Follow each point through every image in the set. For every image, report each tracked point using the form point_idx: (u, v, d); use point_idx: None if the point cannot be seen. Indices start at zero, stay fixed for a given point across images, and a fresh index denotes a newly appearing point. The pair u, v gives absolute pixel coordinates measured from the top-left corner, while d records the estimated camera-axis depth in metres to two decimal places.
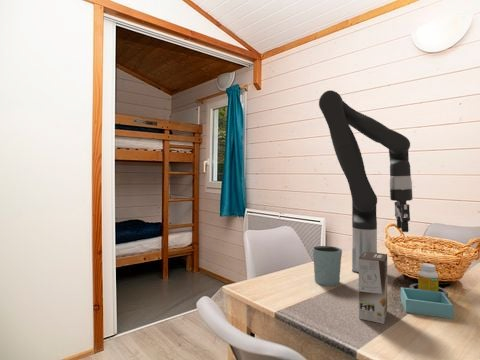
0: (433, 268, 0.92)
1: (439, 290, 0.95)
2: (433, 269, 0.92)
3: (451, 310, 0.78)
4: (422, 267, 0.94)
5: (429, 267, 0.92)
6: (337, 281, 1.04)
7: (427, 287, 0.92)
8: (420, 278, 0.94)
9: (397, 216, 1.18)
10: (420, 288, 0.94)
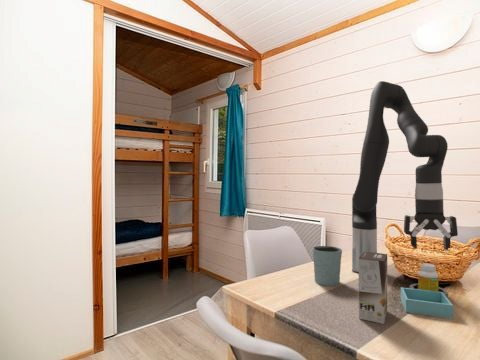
0: (433, 268, 0.92)
1: (439, 290, 0.95)
2: (433, 269, 0.92)
3: (451, 310, 0.78)
4: (422, 267, 0.94)
5: (429, 267, 0.92)
6: (337, 281, 1.04)
7: (427, 287, 0.92)
8: (420, 278, 0.94)
9: (417, 233, 0.95)
10: (420, 288, 0.94)
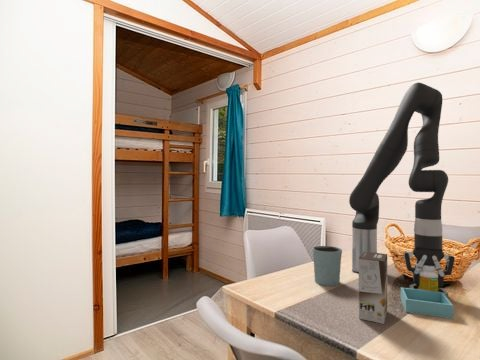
0: (433, 268, 0.92)
1: (439, 290, 0.95)
2: (433, 269, 0.92)
3: (451, 310, 0.78)
4: (422, 267, 0.94)
5: (429, 267, 0.92)
6: (337, 281, 1.04)
7: (427, 287, 0.92)
8: (420, 278, 0.94)
9: None
10: (420, 288, 0.94)
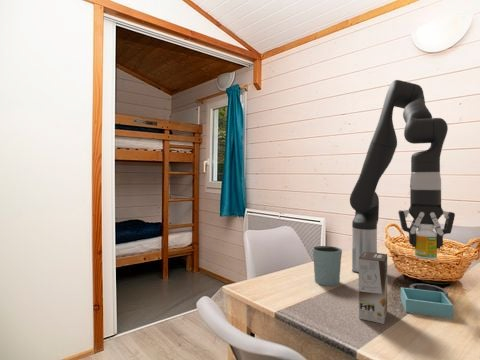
0: (431, 226, 0.83)
1: (439, 290, 0.95)
2: (431, 227, 0.83)
3: (451, 310, 0.78)
4: (419, 226, 0.85)
5: (427, 225, 0.83)
6: (337, 281, 1.04)
7: (424, 247, 0.83)
8: (416, 238, 0.85)
9: (415, 229, 0.85)
10: (417, 249, 0.85)
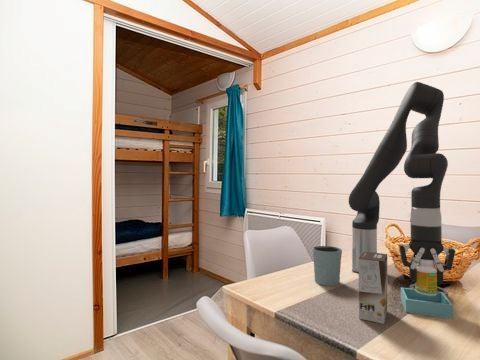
0: (431, 262, 0.83)
1: (439, 290, 0.95)
2: (431, 263, 0.83)
3: (451, 310, 0.78)
4: (419, 261, 0.85)
5: (427, 261, 0.83)
6: (337, 281, 1.04)
7: (424, 283, 0.83)
8: (417, 273, 0.85)
9: (416, 264, 0.85)
10: (417, 284, 0.85)
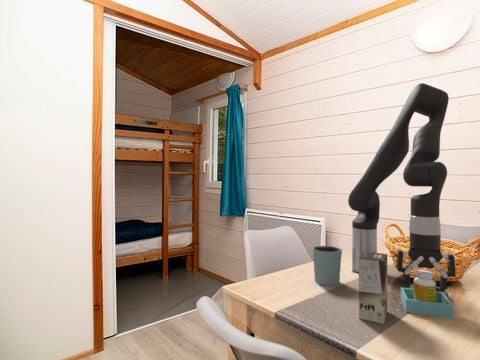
0: (430, 275, 0.83)
1: (439, 290, 0.95)
2: (430, 277, 0.83)
3: (451, 310, 0.78)
4: (418, 274, 0.85)
5: (426, 274, 0.83)
6: (337, 281, 1.04)
7: (423, 296, 0.83)
8: (415, 286, 0.85)
9: (410, 271, 0.85)
10: (416, 297, 0.85)
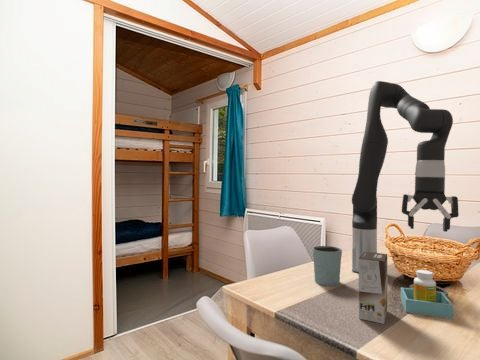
0: (430, 275, 0.83)
1: (439, 290, 0.95)
2: (430, 277, 0.83)
3: (451, 310, 0.78)
4: (418, 274, 0.85)
5: (426, 274, 0.83)
6: (337, 281, 1.04)
7: (423, 296, 0.83)
8: (415, 286, 0.85)
9: (414, 213, 0.90)
10: (416, 297, 0.85)
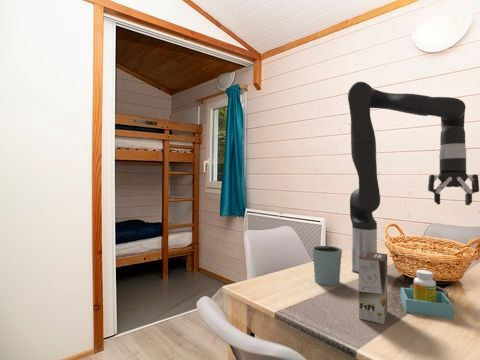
0: (430, 275, 0.83)
1: (439, 290, 0.95)
2: (430, 276, 0.83)
3: (451, 310, 0.78)
4: (418, 274, 0.85)
5: (426, 274, 0.83)
6: (337, 281, 1.04)
7: (423, 296, 0.83)
8: (415, 286, 0.85)
9: (440, 190, 1.03)
10: (416, 297, 0.85)
